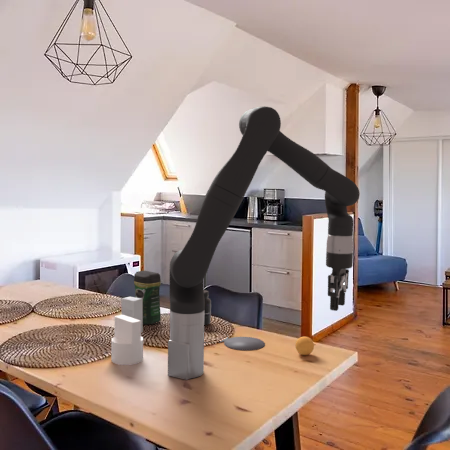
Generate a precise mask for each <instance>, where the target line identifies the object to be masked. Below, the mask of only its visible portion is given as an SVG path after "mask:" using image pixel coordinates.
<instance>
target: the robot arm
mask: <svg viewBox="0 0 450 450" xmlns="http://www.w3.org/2000/svg"><path fill="white" fill-rule="evenodd" d="M280 116H281V115H280V114H279V112H278V111H277V110H276V109H274V108H273V107H270V106H257V107H253V108H250V109H248V110H246V111H245V112H244V113H242V115H241V116H240V118H239V123H238V126H239V131H240V134H241V135H242V136H241V139H240V141H239V144H238V145H237V148H236V149H235V151H234V152H233V154H232V155H231V157H229V159H228V160H227V161H226V162H225V163H224V165H223V166H222V168H220V170H219V171H218V172H217V174H216V175H215V177H214V178H213V180H212V182H211V184H210V186H209V188H208V189H207V191H206V194H205V196H204V198H203V201H202V202H201V206H200V209H199V212H198V216H197V217H196V222H195V225H194V228H193V231H192V233H191V235H190V236H189V238H188V240H187V242H186V243H185V245H184V247H183V248H182V249H180V250H178V251H176V252H175V253H174V254H173V255H172V256H171V259H170V262H169V340H168V342H167V376H169V377H173V378H178V379H182V380H186V381H188V380H190V379H194V378H198V377H200V376H202V375H203V374H204V372H205V371H204V369H205V368H204V367H205V366H204V365H205V361H204V360H205V342H204V332H205V326H204V311H205V300H204V290H205V289H204V281H205V280H204V279H205V277H206V275H207V273H208V271H209V270H208V269H209V267H210V265H211V262H212V260H213V257H214V254H215V252H216V250H217V247H218V245H219V243H220V241H221V240H222V237H223V236H224V234H225V233H226V231H227V229H228V228H229V226H230V224H231V222H232V221H233V219H234V217H235V215H236V213H237V212H238V210H239V208H240V205H241V204H242V202H243V200H244V199H245V198H244V197H245V196H246V193H247V191H248V189H249V187H250V185H251V183H252V182H253V181H252V180H253V179H254V176H255V174H256V172H257V170H258V169H259V166H260V165H261V162H262V160H263V158H264V157H265V155H266V154H267V152H268V153H270V154H272V155H273V156H275V157H276V158H277V159H279V160H280V161H281V162H283V163H284V164H285V165H286V166H288V167H289V168H291V169H292V170H293V171H294V172H295V173H296V174H297V175H299V176H300V177H301V178H303V179H304V180H305V181H306V182H308V183H309V184H310V185H312V186H313V187H314V188H316V189H318V190H322V191H323V192H324V204H325V205H324V206H325V208H326V209H325V210H326V214H327V219H328V221H327V222H328V223H327V227H328V228H327V239H326V253H325V266H326V267H327V268H331V269H332V270H331V273H330V274H328V276H327V296H328V297H329V299H330V303H329V309H330V311H334V312H336V311H337V312H338V310H339V306H344V305H345V303H346V293H347V290H348V289H349V275H350V274H349V273H350V270H349V269H351V268H353V265H354V264H353V262H354V217H353V216H352V215H350V214H349V213H348V209H347V208H348V207H350V206H353V205H356V203H357V202H358V201H359V199H360V189H359V188H358V187H359V186H358V185H357V184H356V183H355V181H353V180H352V179H350V178H349V177H347V176H345V174H342V173H341V172H338V171H337V170H334V169H333V168H332V167H330V165H329V164H327V163H326V162H325V161H324V160H322V158H320V157H319V156H318V155H316V154H315V153H313V152H312V151H310V150H309V149H308V148H305V147H304V146H302V145H300V143H299V144H298V143H297V142H295V141H293V140H292V139H291V138H289V137H288V136H286V135H285V134H284V133H283V132H281V124H282V123H281V121H282V120H281V117H280Z"/></svg>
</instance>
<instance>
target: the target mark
mask: <svg viewBox="0 0 450 450" xmlns="http://www.w3.org/2000/svg"><path fill="white" fill-rule="evenodd" d="M223 344H224V346H225V347H227V348H228V349H233V350H237V351H257V350H261V349H263V348H264V347H265V345H266V344H265V342H264V340H261V339H260V338H256V337H252V336H235V337H234V336H233V337H230V338H229V337H228V339H227V340H225V341H223Z"/></svg>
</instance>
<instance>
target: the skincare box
mask: <svg viewBox="0 0 450 450" xmlns="http://www.w3.org/2000/svg"><path fill="white" fill-rule="evenodd" d="M121 315H126V316H129V317H132V318H135V319H138V320H141V332H144V331H143V328H144V327H143V325H144V324H143V299H141V298H135V296H127V297H122V298H121Z"/></svg>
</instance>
